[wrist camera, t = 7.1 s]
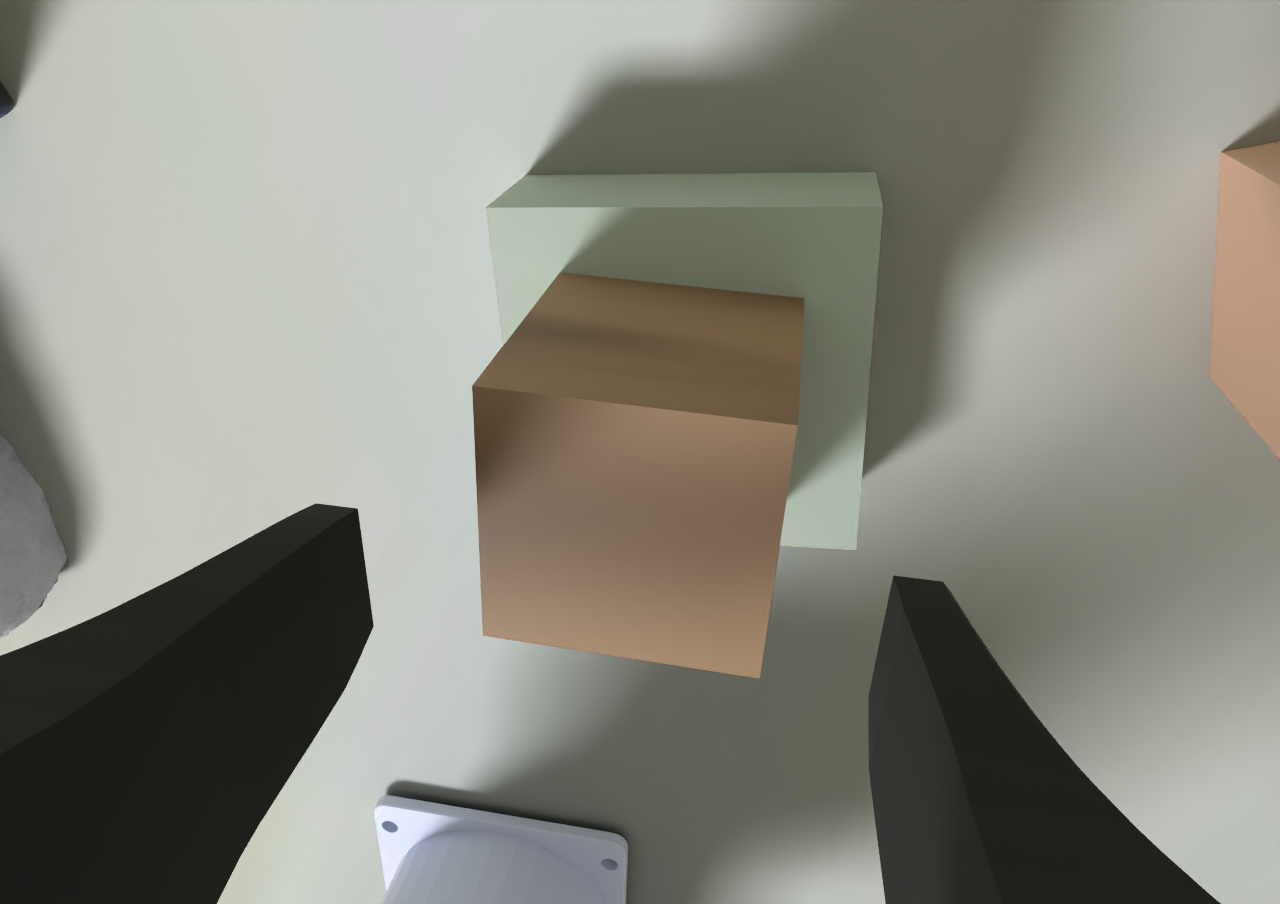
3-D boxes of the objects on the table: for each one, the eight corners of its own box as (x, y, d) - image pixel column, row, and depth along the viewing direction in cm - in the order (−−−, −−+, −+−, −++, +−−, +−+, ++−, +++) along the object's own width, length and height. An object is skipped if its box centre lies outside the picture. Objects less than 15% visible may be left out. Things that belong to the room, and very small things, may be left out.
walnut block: (774, 509, 19) (759, 678, 15) (558, 480, 20) (483, 635, 15) (804, 298, 17) (797, 424, 12) (559, 272, 17) (472, 385, 13)
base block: (852, 476, 22) (855, 550, 19) (559, 462, 23) (526, 530, 20) (875, 167, 18) (883, 206, 16) (530, 171, 20) (485, 207, 17)
